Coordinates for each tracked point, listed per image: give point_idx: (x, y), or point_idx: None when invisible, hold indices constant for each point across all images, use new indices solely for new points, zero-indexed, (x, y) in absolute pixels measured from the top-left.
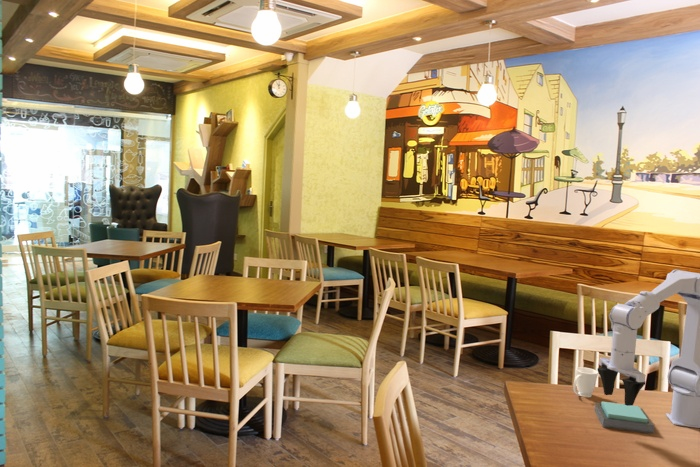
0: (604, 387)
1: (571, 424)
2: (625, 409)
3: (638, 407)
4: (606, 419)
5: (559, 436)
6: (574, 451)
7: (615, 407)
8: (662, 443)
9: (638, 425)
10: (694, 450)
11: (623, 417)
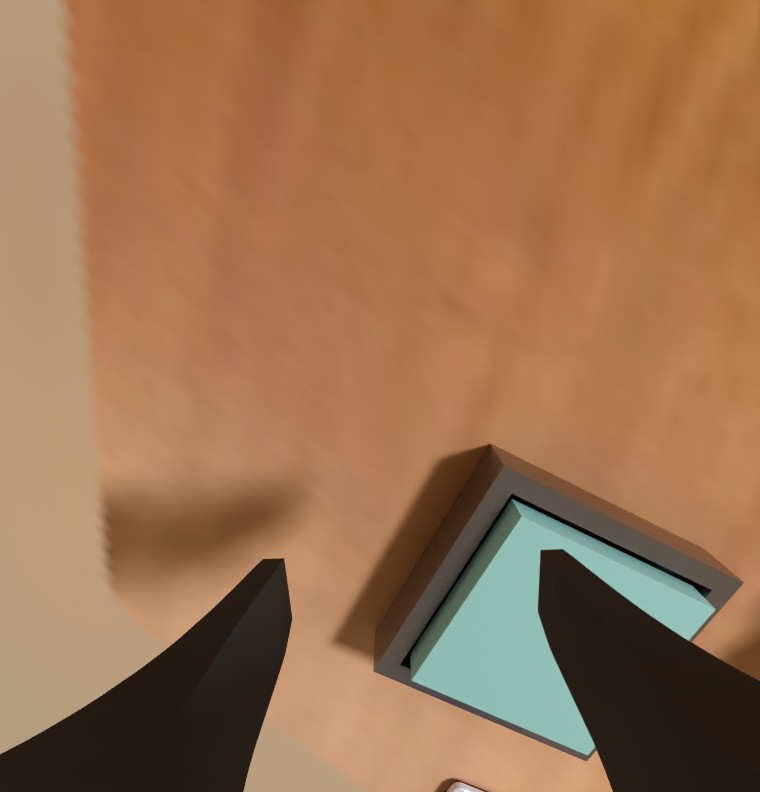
0: (589, 589)
1: (564, 276)
2: None
3: (571, 743)
4: (494, 476)
5: (411, 59)
6: (195, 22)
7: None
8: None
9: (408, 605)
10: None
11: (473, 578)
